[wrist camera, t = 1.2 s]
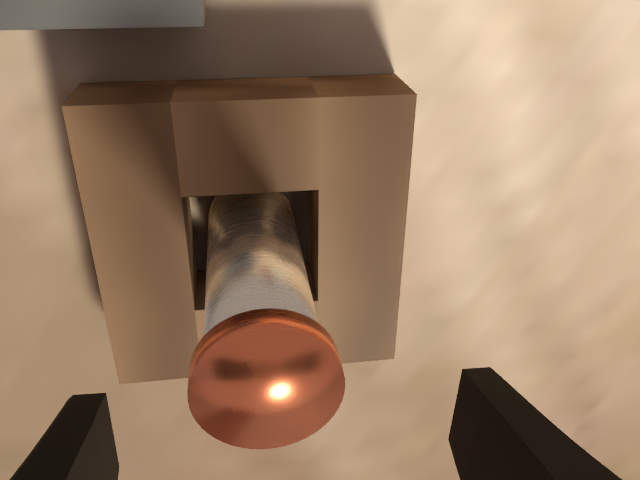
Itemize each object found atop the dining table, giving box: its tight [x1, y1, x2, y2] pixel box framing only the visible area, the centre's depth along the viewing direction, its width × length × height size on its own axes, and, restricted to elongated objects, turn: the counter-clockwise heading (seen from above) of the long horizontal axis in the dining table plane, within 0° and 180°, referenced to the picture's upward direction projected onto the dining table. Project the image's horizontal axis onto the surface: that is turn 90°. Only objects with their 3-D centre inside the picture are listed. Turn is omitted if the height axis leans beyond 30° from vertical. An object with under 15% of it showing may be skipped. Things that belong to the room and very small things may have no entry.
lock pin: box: [188, 192, 345, 449], centre depth 17 cm, size 4×4×9 cm
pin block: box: [61, 74, 417, 384], centre depth 20 cm, size 10×10×2 cm
